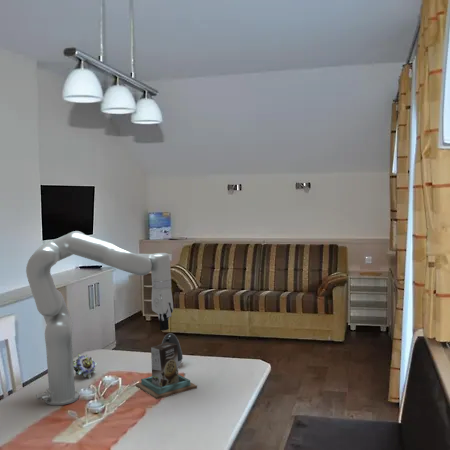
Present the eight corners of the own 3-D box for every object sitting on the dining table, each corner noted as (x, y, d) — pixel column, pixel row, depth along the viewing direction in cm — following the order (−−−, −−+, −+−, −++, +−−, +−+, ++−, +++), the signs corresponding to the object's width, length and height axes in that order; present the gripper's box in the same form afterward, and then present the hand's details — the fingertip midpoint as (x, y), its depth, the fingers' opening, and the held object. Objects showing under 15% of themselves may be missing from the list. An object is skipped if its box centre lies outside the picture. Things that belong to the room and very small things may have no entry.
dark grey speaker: (156, 370, 239) (154, 336, 238) (165, 362, 249) (164, 329, 248) (177, 371, 236) (176, 337, 235) (186, 363, 246) (184, 330, 245)
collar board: (156, 399, 206) (156, 391, 206) (135, 386, 221) (135, 379, 220) (196, 387, 216) (196, 380, 216) (174, 375, 231) (173, 369, 231)
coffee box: (163, 390, 212) (161, 349, 211) (151, 386, 217) (150, 347, 215) (179, 383, 219) (177, 344, 218) (168, 380, 224) (166, 341, 222)
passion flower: (89, 390, 233) (81, 373, 225) (69, 382, 237) (60, 366, 229) (104, 369, 240) (97, 352, 233) (84, 362, 244) (76, 345, 237)
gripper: (144, 283, 219) (147, 328, 221) (162, 288, 207) (165, 335, 209) (160, 280, 224) (163, 324, 225) (179, 285, 212) (182, 331, 213)
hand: (164, 329), depth 217 cm, fingers closed
